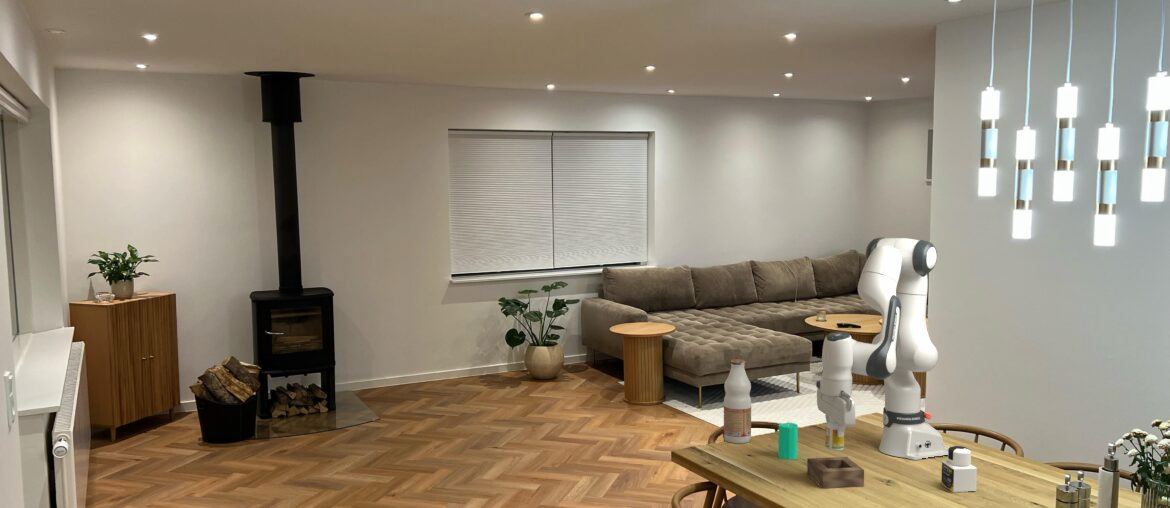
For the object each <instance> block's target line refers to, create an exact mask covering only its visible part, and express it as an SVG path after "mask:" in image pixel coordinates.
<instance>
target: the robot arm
mask: <svg viewBox="0 0 1170 508" xmlns="http://www.w3.org/2000/svg"><path fill="white" fill-rule="evenodd" d="M937 259H938V251H937V248H936V247H935V245H934V243H932V242H930V241H928V240H923V239H920V240H919V239H913V238H908V237H900V238H899V237H876V238H874V239H872V240H871V241H870V242H869V243H868V245H867V246H866V250H865V260H866V262H865V264H864V265H863V266H864V267H863V268H862V271H861V274H860V277H859V280H858V283H857V293H858V296H859V297H860V299H861V301H862V302H864V303H865V304H866V305H867V306H869V307H870V308H872V309H873V310H875V311H876V312H878V313H880V314H881V318H882V321H881V329H880V333H878V334H876V335H875V336H874V337H873V339H872V342H871V343H869V342H862V341H857V340H855V339H853V338H852V336H851V334H849V333H847V332H845V331H837V332H836V331H835V332H830V333H828V334H827V335H826V336H825V338H824V340H823V345H822V353H821V355H822V356H821V365H822V373H821V379H818V380H816V381H815V387H816V389H817V390H816V406H817V409H818V411H820V412H821V413H823V414H824V416H825V422H826V424H827V423H828V422H829V420H828V419H829V416H830V417H831V418H832V419H833V420H835V421H836V422H838V423H837V425H838V429H837V430H836V435H837V436H838V437H843V436H844V437H845V431H844V430H846V428H847V427H854V426H855V424H856V408H855V407H856V405H855V402H854V401H855V400H854V399H852V398H851V396H852V394H853V376H852V375H853V374H855V375H861V376H865V377H870V378H873V379H876V380H879V381H883V382H884V407H883V411H882V412H883V413H882V423H883V430H882V435H881V440H880V444H879V446H878V450H879V452H881V453H883V454H885V455H888V456H893V457H899V458H906V459H909V460H913V461H916V460H923V459H922V458H926V459H929V458H928V457H934V456H942V455H948V449H949V447H947V446H945V445H944V439H943V436H942V434H941V433H940V431H938V430H937V429H935V428H934V427H933V426H932V425H931V424H929V423H928V422H927V421H926V420H931V419H932V414H931V413H930V412H928V411H923V410H922V409H921V401H922V400H921V396H922V395H921V392H922V389H921V386H920V384H919V382H918V380H916V378H915V376H914V372H915V373H927V372H929V371H930V372H931V371H932V370H933V369H934V368H935V367H936V365H937V363H938V360H939V352H938V348H937V347H936V346H935V345H934V344H933V342H932V340H931V338H930V335H929V330H928V326H927V318H926V316H927V315H926V314H927V303H928V302H927V300H928V289H929V288H928V286H929V285H928V284H929V282H928V274H929V273H930V272H931V271H932V270H934V268H935V266H936V264H937V261H938V260H937Z"/></svg>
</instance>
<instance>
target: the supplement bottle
mask: <svg viewBox="0 0 1170 508" xmlns="http://www.w3.org/2000/svg"><path fill="white" fill-rule="evenodd" d="M828 420H829V422H828V423H827V422H826V424H825V439H824V440H825V444H824V447H825V449H827V450H830V451H835V452H836V451H843V450H844V448H845V435H844V436H843V437H838V436H837V435H836V430H837V429H838V425H837V423H838V422H836V421H835V420H833V419H832V418H831V417H830V416H829V419H828ZM845 430H846V429H845ZM845 430H844V432H845Z"/></svg>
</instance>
